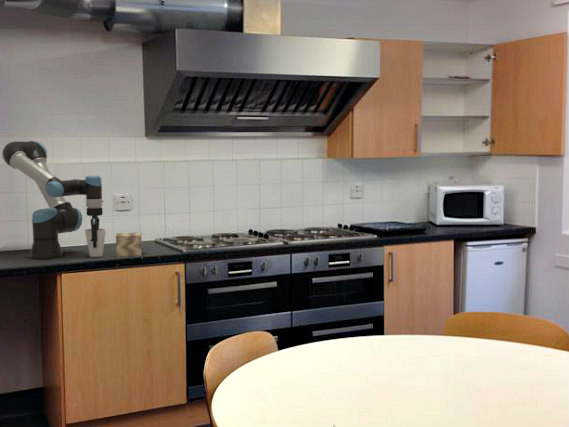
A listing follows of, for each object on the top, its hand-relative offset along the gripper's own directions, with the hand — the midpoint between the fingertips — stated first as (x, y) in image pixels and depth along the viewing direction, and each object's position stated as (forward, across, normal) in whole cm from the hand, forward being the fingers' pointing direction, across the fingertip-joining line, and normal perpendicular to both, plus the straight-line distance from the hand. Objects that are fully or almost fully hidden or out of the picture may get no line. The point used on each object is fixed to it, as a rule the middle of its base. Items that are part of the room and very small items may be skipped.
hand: (96, 252), depth 360 cm
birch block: (+2, +1, -16) cm, 16 cm away
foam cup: (+2, 0, 0) cm, 2 cm away
